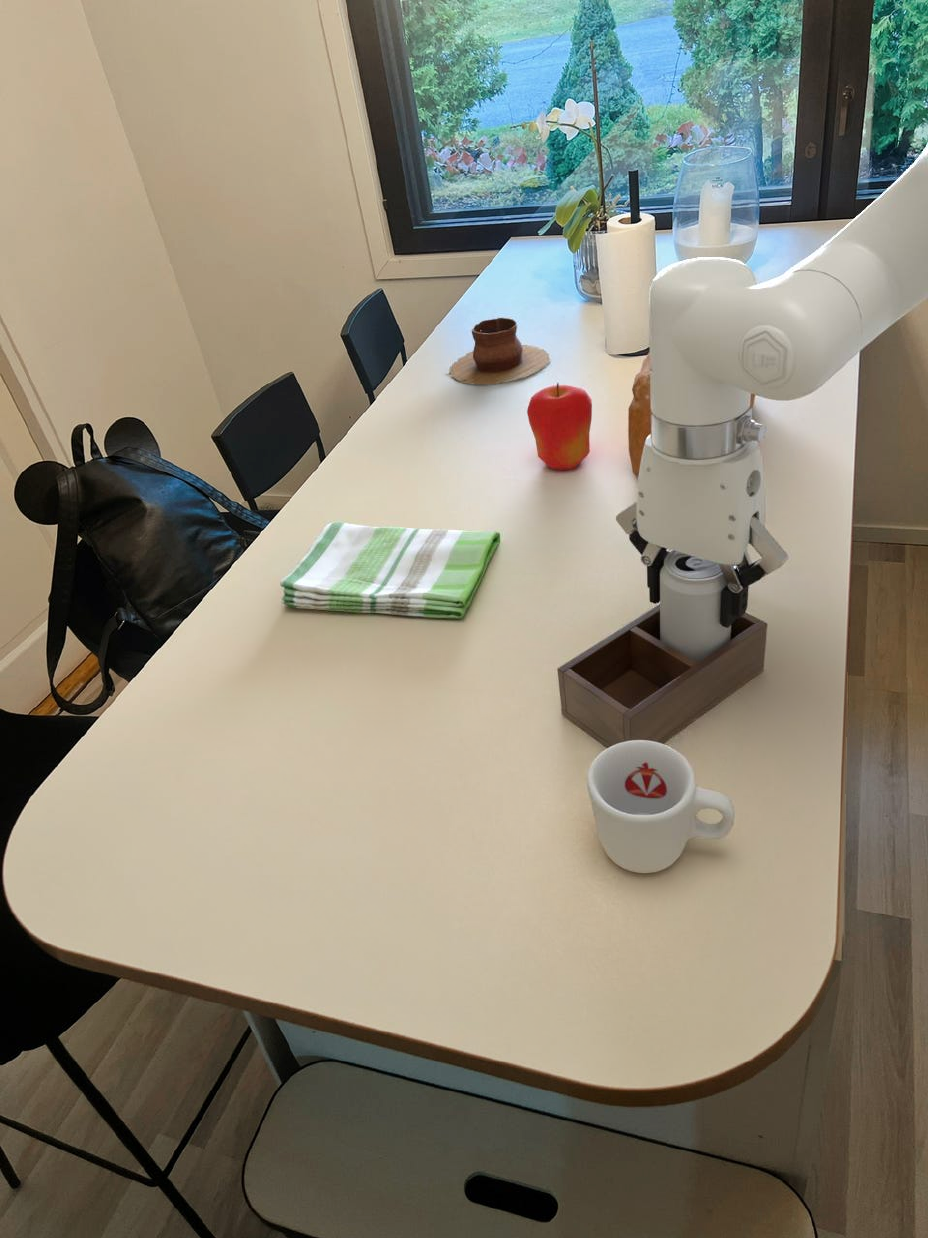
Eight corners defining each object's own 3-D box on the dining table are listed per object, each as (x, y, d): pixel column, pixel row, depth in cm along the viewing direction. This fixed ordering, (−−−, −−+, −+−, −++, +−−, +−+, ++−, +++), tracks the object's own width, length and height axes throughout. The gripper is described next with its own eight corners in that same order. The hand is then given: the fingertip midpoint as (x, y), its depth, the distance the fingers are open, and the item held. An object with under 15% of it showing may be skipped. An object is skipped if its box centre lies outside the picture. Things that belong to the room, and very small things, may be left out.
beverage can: (656, 645, 87) (654, 544, 80) (722, 640, 86) (726, 537, 79) (665, 688, 82) (664, 585, 75) (735, 683, 81) (741, 578, 74)
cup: (733, 816, 70) (738, 747, 66) (729, 900, 65) (734, 831, 60) (600, 800, 74) (595, 733, 69) (584, 879, 68) (578, 812, 63)
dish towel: (334, 533, 115) (328, 510, 113) (502, 538, 109) (499, 513, 106) (279, 612, 103) (271, 588, 101) (466, 623, 96) (461, 597, 94)
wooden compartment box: (763, 670, 83) (767, 623, 80) (631, 766, 76) (630, 719, 73) (689, 629, 90) (690, 583, 86) (561, 714, 83) (556, 668, 79)
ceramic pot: (439, 359, 160) (433, 321, 155) (530, 337, 162) (527, 299, 158) (464, 394, 145) (458, 353, 141) (564, 369, 148) (561, 328, 143)
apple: (603, 450, 123) (599, 370, 116) (581, 479, 117) (576, 397, 110) (547, 445, 127) (540, 367, 120) (523, 473, 121) (514, 392, 114)
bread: (759, 399, 129) (766, 291, 119) (731, 487, 110) (737, 368, 101) (665, 396, 134) (665, 293, 124) (624, 480, 115) (619, 366, 106)
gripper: (827, 426, 66) (806, 613, 77) (630, 391, 76) (635, 561, 87) (784, 470, 62) (767, 661, 73) (581, 427, 72) (593, 600, 83)
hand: (695, 605), depth 80 cm, fingers closed on beverage can, 6 cm apart
